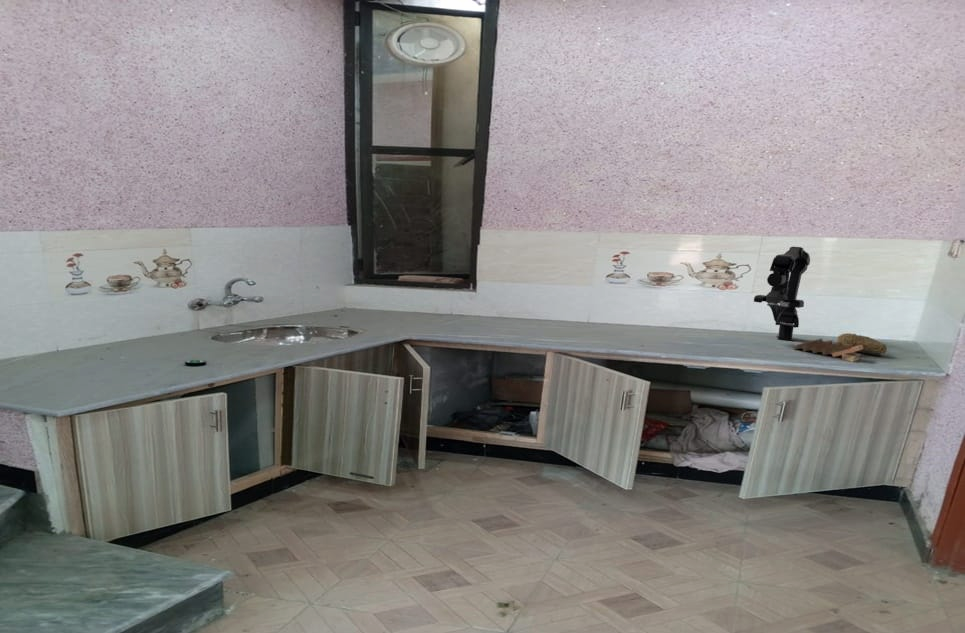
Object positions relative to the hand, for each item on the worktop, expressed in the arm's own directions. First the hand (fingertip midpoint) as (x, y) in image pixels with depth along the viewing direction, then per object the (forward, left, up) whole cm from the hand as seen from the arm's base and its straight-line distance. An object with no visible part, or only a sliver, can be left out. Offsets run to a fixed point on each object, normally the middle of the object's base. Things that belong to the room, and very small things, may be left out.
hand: (775, 320), depth 253 cm
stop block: (+12, +27, -11) cm, 32 cm away
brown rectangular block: (+2, +9, -10) cm, 14 cm away
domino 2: (+4, +12, -10) cm, 16 cm away
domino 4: (+8, +18, -10) cm, 22 cm away
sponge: (-6, +35, -11) cm, 37 cm away
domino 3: (+6, +15, -10) cm, 19 cm away
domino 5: (+10, +22, -10) cm, 26 cm away
